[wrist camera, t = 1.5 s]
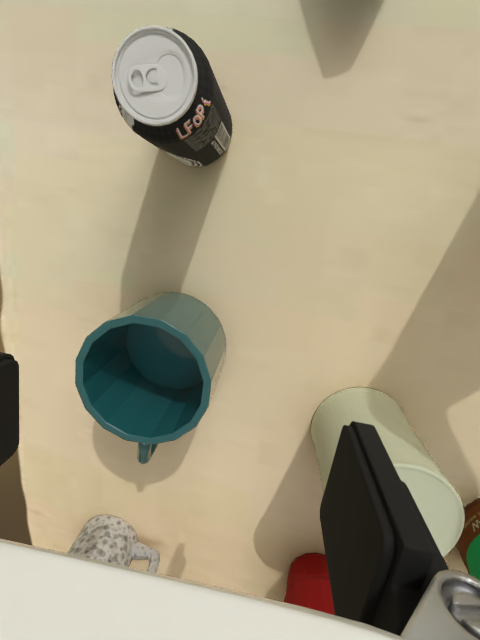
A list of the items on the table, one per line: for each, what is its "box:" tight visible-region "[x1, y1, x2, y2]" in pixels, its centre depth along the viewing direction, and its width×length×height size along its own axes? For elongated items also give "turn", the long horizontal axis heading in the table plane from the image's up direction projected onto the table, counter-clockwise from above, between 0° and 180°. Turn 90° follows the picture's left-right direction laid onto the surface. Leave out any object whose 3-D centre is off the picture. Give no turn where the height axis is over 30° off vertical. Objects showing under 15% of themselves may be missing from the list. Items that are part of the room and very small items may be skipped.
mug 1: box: [75, 292, 226, 464], centre depth 31 cm, size 13×10×9 cm
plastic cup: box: [284, 553, 335, 615], centre depth 35 cm, size 11×11×12 cm
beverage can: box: [112, 25, 232, 167], centre depth 24 cm, size 6×6×12 cm
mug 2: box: [68, 515, 160, 573], centre depth 39 cm, size 10×7×7 cm, turn 88°
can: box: [311, 387, 465, 557], centre depth 30 cm, size 9×9×12 cm
